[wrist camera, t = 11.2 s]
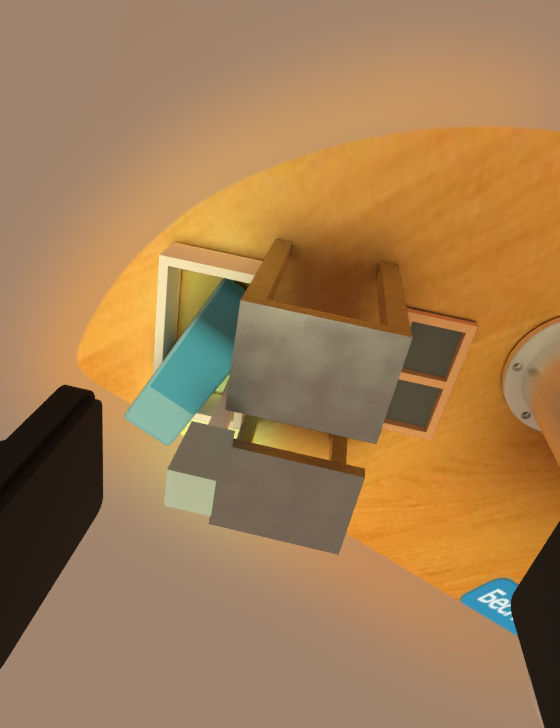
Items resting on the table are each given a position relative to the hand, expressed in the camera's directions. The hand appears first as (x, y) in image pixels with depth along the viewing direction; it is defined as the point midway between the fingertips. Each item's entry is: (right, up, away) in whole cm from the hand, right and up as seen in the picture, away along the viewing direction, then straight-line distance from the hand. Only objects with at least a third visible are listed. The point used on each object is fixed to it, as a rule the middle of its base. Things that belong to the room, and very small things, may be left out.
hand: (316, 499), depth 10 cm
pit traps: (+13, +2, +39) cm, 41 cm away
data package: (-7, +6, +40) cm, 41 cm away
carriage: (-7, +6, +40) cm, 41 cm away
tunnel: (+3, +4, +39) cm, 39 cm away
